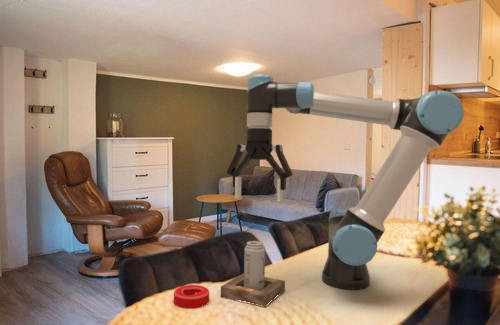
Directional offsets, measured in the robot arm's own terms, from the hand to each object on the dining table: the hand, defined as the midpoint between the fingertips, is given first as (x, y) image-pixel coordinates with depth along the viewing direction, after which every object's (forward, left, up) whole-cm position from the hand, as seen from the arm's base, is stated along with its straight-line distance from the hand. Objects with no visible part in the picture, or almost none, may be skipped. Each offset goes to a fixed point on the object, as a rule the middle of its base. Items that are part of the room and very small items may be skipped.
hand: (258, 199), depth 114 cm
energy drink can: (-1, +3, -27) cm, 28 cm away
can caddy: (-1, +3, -27) cm, 27 cm away
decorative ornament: (+12, +17, -28) cm, 34 cm away
